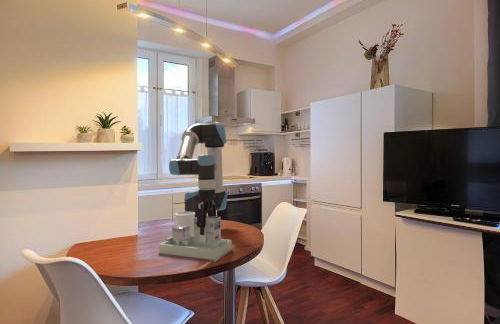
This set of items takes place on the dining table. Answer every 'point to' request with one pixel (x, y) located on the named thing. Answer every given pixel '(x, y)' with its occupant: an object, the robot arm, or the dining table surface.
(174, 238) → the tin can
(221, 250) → the tray
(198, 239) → the light bulb box
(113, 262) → the dining table surface
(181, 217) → the jar
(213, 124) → the robot arm
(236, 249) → the dining table surface
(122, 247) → the dining table surface
